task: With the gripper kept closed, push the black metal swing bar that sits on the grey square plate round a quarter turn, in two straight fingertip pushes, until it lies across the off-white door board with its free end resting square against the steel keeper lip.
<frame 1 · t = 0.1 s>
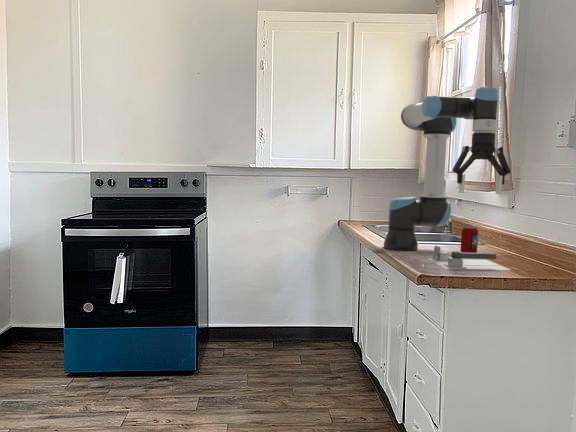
hand: (479, 193, 177), 28 cm above the counter, fingers open, 13 cm apart
grey square plate: (455, 266, 182), resting on door board
keeper: (440, 259, 195), resting on door board
door board: (467, 266, 188), on the counter
latch bar: (473, 254, 182), point 5 cm above the counter, hinge at 0.0°
beverage can: (468, 254, 217), on the counter
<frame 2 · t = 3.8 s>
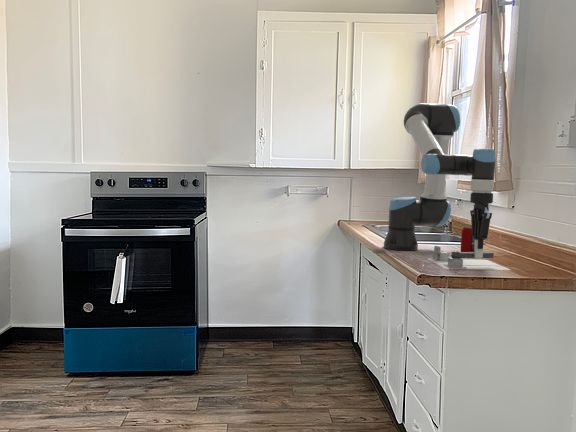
hand: (478, 257, 181), 5 cm above the counter, fingers closed
latch bar: (471, 254, 183), point 5 cm above the counter, hinge at 9.2°, touching gripper
everything else where it was.
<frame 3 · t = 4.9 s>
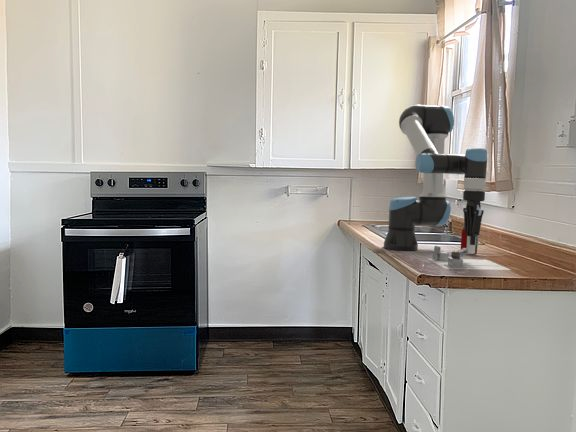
hand: (470, 253, 188), 5 cm above the counter, fingers closed
latch bar: (460, 252, 187), point 5 cm above the counter, hinge at 52.5°, touching gripper
everything else where it was.
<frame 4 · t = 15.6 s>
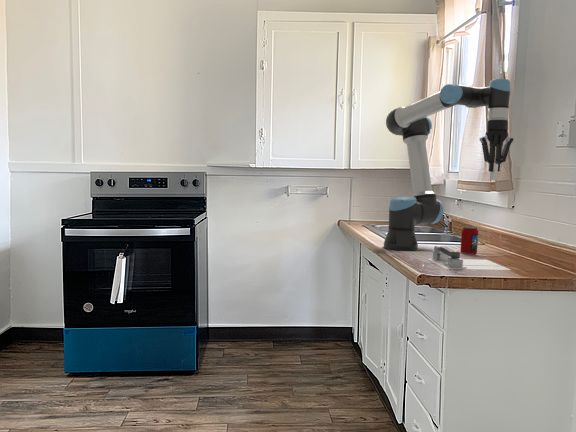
hand: (493, 180, 199), 32 cm above the counter, fingers closed
latch bar: (449, 251, 188), point 5 cm above the counter, hinge at 88.5°
everything else where it was.
at the end: latch bar at +88° (first picture: +0°) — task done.
